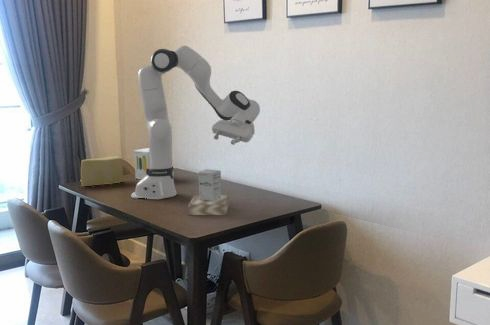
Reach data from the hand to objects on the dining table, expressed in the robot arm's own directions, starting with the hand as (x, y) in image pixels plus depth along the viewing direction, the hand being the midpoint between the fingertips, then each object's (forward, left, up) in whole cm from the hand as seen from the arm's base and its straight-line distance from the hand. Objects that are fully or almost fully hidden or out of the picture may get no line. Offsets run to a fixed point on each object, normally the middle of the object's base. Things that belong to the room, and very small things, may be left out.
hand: (223, 140), depth 237 cm
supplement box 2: (-5, -17, -24) cm, 30 cm away
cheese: (-72, +38, -29) cm, 87 cm away
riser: (-5, -17, -29) cm, 34 cm away
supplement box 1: (-47, +52, -29) cm, 76 cm away
